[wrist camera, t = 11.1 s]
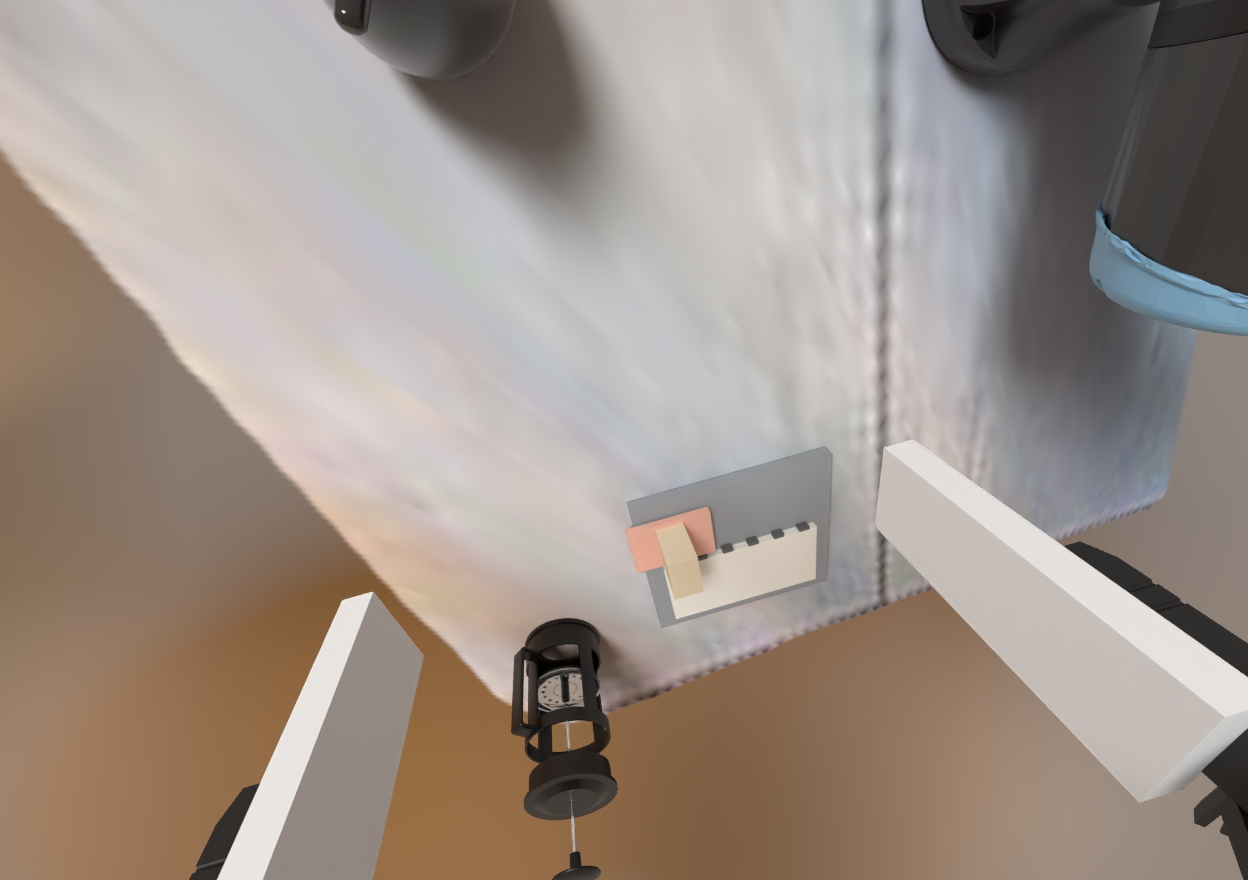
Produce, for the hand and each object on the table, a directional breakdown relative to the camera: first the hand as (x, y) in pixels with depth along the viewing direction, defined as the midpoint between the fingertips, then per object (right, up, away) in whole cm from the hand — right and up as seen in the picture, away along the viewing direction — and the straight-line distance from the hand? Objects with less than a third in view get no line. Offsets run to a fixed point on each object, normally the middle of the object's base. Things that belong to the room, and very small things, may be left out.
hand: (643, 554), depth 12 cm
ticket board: (+12, -9, +42) cm, 44 cm away
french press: (-9, -23, +46) cm, 52 cm away
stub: (+5, -8, +37) cm, 38 cm away
